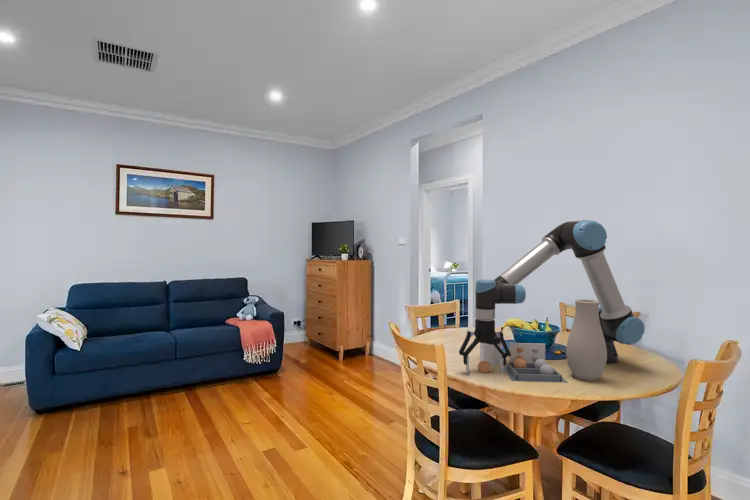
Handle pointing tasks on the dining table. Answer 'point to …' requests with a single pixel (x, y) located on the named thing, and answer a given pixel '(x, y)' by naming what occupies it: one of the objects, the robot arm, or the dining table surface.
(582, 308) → the vase
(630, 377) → the dining table surface
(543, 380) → the rack
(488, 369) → the ball
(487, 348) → the jar
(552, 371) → the grey ball
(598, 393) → the dining table surface
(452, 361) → the dining table surface
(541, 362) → the grey ball
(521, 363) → the terracotta ball
